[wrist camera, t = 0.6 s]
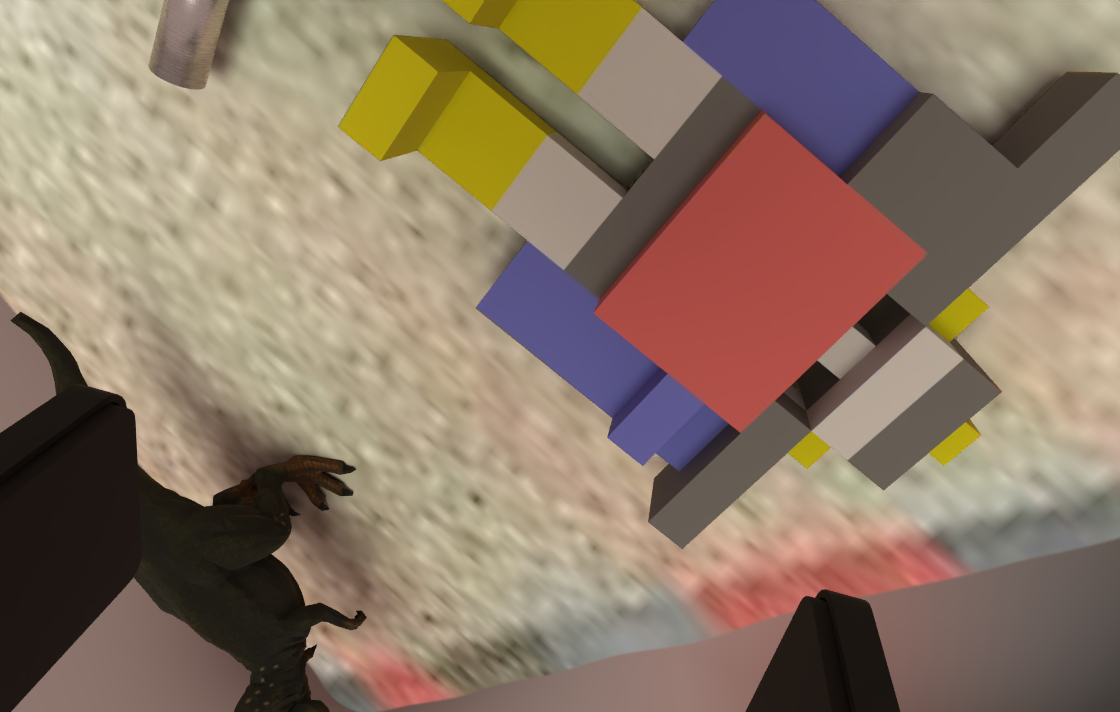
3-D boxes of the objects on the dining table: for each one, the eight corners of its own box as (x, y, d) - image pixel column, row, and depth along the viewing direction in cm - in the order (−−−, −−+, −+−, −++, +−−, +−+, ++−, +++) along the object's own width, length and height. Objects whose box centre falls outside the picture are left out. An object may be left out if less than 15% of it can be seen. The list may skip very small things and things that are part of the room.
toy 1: (351, 635, 54) (240, 852, 41) (69, 294, 45) (-191, 431, 32) (454, 599, 51) (371, 821, 38) (175, 227, 42) (-64, 347, 29)
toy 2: (649, -385, 24) (1329, 239, 26) (664, -274, 32) (1187, 199, 34) (263, 247, 34) (786, 659, 36) (348, 212, 42) (773, 552, 44)
